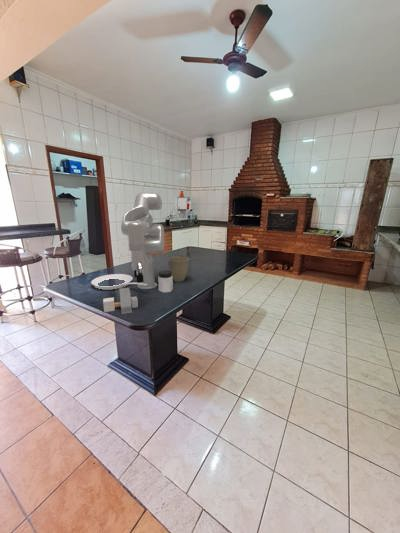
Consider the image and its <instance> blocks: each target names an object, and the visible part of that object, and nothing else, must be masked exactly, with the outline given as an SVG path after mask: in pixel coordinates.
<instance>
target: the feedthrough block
mask: <svg viewBox="0 0 400 533" xmlns="http://www.w3.org/2000/svg"><path fill="white" fill-rule="evenodd" d="M118 290H119V299H120V300H119V302H121V306H120V312H121V315H125V314H130V313H133V309H132V305H131V297H132V296H131V291H130V287H123V288H120V289H118Z"/></svg>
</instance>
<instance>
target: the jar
mask: <svg viewBox="0 0 400 533" xmlns="http://www.w3.org/2000/svg"><path fill="white" fill-rule="evenodd" d="M157 278H158V280H157V281H158V291H159V292H160V293H171V292H172V291H173V290H174V285H173V284H174V280H173V276H172V272H171V271H170V270H160V271H158V276H157Z"/></svg>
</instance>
